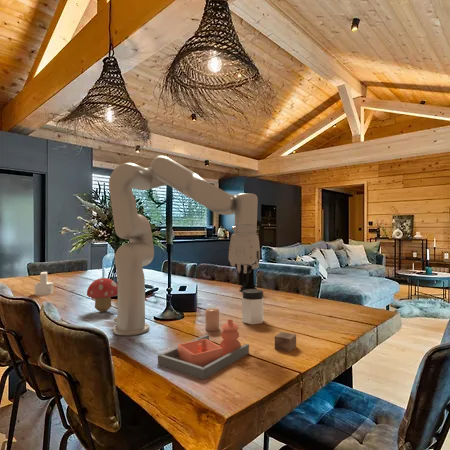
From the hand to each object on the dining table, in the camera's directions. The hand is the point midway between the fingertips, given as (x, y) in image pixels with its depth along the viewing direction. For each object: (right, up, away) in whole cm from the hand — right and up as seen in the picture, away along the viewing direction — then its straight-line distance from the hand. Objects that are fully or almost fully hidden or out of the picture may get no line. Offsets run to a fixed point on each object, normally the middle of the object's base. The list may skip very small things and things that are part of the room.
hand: (243, 284), depth 111 cm
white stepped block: (-109, -19, +76) cm, 134 cm away
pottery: (-9, -18, -17) cm, 27 cm away
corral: (-12, -18, -18) cm, 28 cm away
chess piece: (+7, -19, +79) cm, 81 cm away
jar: (+5, -18, +19) cm, 26 cm away
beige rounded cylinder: (-11, -18, +9) cm, 23 cm away
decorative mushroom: (-60, -19, +35) cm, 72 cm away
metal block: (+12, -18, -10) cm, 24 cm away
